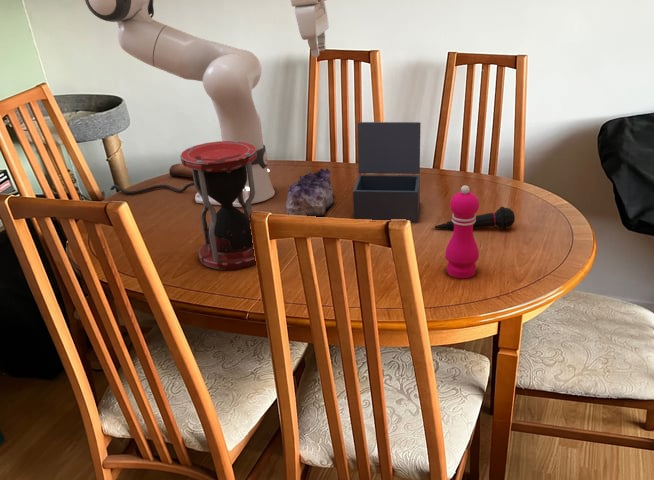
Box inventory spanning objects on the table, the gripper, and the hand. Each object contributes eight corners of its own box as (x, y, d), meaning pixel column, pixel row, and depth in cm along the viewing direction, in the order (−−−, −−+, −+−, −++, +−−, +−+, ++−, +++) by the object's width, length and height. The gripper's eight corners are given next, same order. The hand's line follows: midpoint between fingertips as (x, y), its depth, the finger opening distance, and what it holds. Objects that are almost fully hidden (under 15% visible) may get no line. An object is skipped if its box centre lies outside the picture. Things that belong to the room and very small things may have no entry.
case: (417, 222, 160) (417, 192, 156) (354, 221, 162) (352, 191, 158) (419, 203, 171) (419, 175, 167) (360, 203, 173) (358, 174, 168)
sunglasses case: (232, 174, 194) (223, 159, 188) (222, 191, 191) (212, 177, 186) (187, 167, 201) (176, 153, 195) (176, 184, 198) (165, 170, 192)
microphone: (436, 242, 156) (516, 232, 155) (435, 226, 152) (516, 215, 150) (434, 228, 160) (512, 218, 158) (433, 211, 156) (512, 200, 154)
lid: (420, 122, 162) (420, 122, 163) (357, 122, 163) (358, 122, 164) (419, 173, 166) (419, 173, 167) (358, 173, 168) (358, 172, 169)
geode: (301, 192, 180) (303, 159, 176) (340, 200, 179) (343, 166, 174) (278, 217, 163) (280, 181, 158) (320, 225, 162) (323, 189, 157)
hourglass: (185, 264, 142) (164, 158, 130) (224, 236, 155) (208, 137, 143) (246, 275, 137) (230, 166, 125) (281, 244, 150) (269, 143, 138)
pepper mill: (442, 265, 139) (444, 180, 129) (473, 263, 140) (479, 178, 130) (447, 280, 133) (451, 192, 123) (480, 278, 133) (486, 191, 123)
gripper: (305, -8, 161) (314, 48, 168) (288, -1, 143) (299, 61, 150) (329, -11, 160) (337, 46, 167) (315, -5, 142) (324, 58, 149)
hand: (319, 53), depth 158 cm, fingers open, 8 cm apart
